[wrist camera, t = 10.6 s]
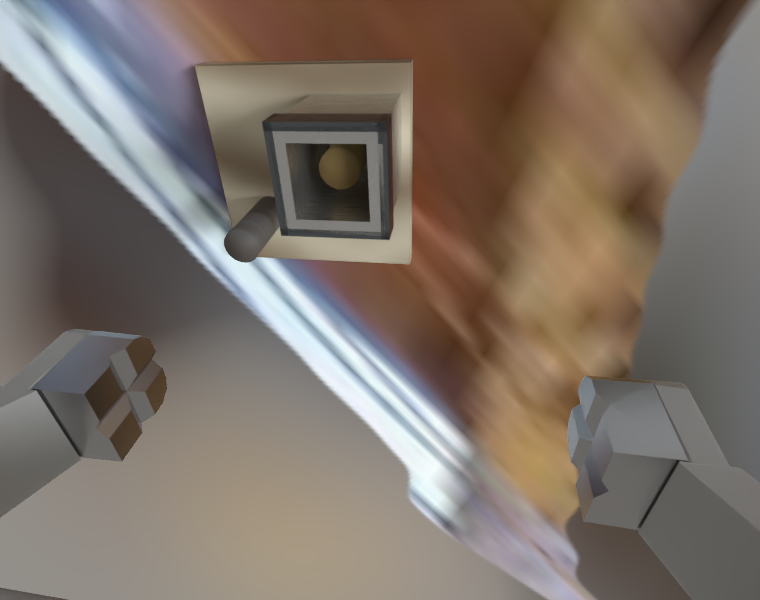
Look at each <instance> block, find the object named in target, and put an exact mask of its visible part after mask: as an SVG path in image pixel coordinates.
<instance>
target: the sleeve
mask: <svg viewBox="0 0 760 600" xmlns="http://www.w3.org/2000/svg"><path fill="white" fill-rule="evenodd" d="M262 125H263V131H264V137H265V143H266V149H267V155H268V161H269V167H270V173H271V178H272V184H273V190H274V196H275V202H276V208H277V214H278V220H279V226H280V232H281V236H300V237H325V238H350V239H375V240H390V237H391V234H392V230H393V227H394V217H393V210H394V207H395V204H396V201H397V198H398V195H399V191H400V188H401V185H402V117H401V94H311V95H309V96H308V97H307V98H305V99H304V100H303V101H301V102H300V103H299V104H297V105H296V106H294V107H293V108H292V109H290V110H289V111H288V112H286V113H274V114H272V115H271V116H269V117H268V118H266V119H265V120H264V121H262ZM328 144H366V146H367V166H368V171H362V172H361V174H360V176H359V177H358V179H357V181H356V182H355V184H354V185H352V186H351V187H349V188H347V189H335V188H333V187H331V186H329V185H328V184H327V183H326V182H325V181H324V180H323V179H322V177H321V175H320V171H319V163H320V160H321V158H322V156H323V155H324V154H325V152H326V151H327V150H328V149H329V145H328Z"/></svg>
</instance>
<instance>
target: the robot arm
mask: <svg viewBox="0 0 760 600" xmlns="http://www.w3.org/2000/svg"><path fill="white" fill-rule="evenodd" d="M155 353H156V351H155V349H154V347H153V344H152V342H151V340H150V339H148V338H146V337H143V336H136V335H128V334H119V333H110V332H102V331H88V330H80V329H73V330H70V331H66V332H64V333H63V334H62V335H61V336H59V337H58V338H57V339H56V340H55V341H54V342H53V343H52V344H50V345H49V346H48V347H47V348H46V349H45V350H44V351H43V352H42V353H40V354H39V355H38V356H37V357H36V358H35V359H34V360H33V361H31V362H30V363H29V364H28V365H27V366H26V367H25V368H24V369H22V370H21V371H20V372H19V373H18V374H17V375H16V376H15V377H14V378H12V379H11V380H10V381H9V382H8V383H7V384H6V385H5V386H4V387H1V386H0V517H2V516H3V515H5V514H6V513H7V512H9V511H10V510H11V509H13V508H14V507H16V506H17V505H18V504H20V503H21V502H23V501H24V500H25V499H27V498H28V497H30V496H31V495H32V494H34V493H35V492H36V491H38V490H39V489H41V488H42V487H43V486H45V485H46V484H47V483H49V482H50V481H52V480H53V479H55V478H56V477H57V476H59V475H60V474H62V473H63V472H64V471H66V470H67V469H68V468H70V467H71V466H73V465H74V464H75V463H77V462H78V461H79V460H80V457H83V458H93V459H103V460H113V461H123V459H124V458H125V456H126V455H127V454H128V452H129V451H130V449H131V448H132V447H133V445H134V444H135V442H136V441H137V439H138V438H139V437H140V435H141V434H142V424H141V423H142V422H143V421H145V420H147V419H148V418H150V417H151V416H153V415H155V414H156V412H157V411H158V409H159V408H160V406H161V405H162V403H163V400H164V397H165V393H166V390H167V384H166V376H165V373H164V371H163V368H162V367H160V366H159V365H158V364H157V363H156V362H155V361H153V360H152V359H153V357H154V355H155ZM578 393H579V397H580V401H581V404H579V405H578V406H576V407H575V408H573V409H572V412H571V416H570V419H569V424H568V449H569V454H570V459H571V462H572V463H573V464H574V465H575V467H576V468H577V469H578V470H579V471H580V475H579V477H578V480H577V483H576V488H577V493H578V497H579V502H580V506H581V511H582V515H583V520H584V521H585V522H591V523H598V524H604V525H611V526H617V527H623V528H629V529H636V530H639V532H638V533H639V534H640V535H641V537H642V538H643V539H644V540H645V542H646V543H647V544H648V545H649V547H650V548H651V549H652V550H653V551H654V553H655V554H656V555H657V557H658V558H659V559H660V560H661V562H662V563H663V564H664V565H665V567H666V568H667V569H668V570H669V572H670V573H671V574H672V575H673V577H674V578H675V579H676V580H677V582H678V583H679V584H680V585H681V587H682V588H683V589H684V590H685V592H686V593H687V594H688V595H689V597H690V598H691V599H692V600H760V483H759V482H758V481H757V480H755V479H754V478H753V477H751V476H750V475H749V474H748V473H746V472H745V471H743V470H742V469H741V468H735V467H730V466H729V464H728V462H727V461H726V459H725V457H724V455H723V453H722V451H721V449H720V448H719V446H718V444H717V442H716V440H715V438H714V436H713V434H712V433H711V431H710V429H709V427H708V425H707V423H706V421H705V420H704V418H703V416H702V414H701V412H700V410H699V408H698V407H697V405H696V403H695V401H694V399H693V397H692V396H691V394H690V392H689V390H688V388H687V387H686V386H685V385H683V384H682V383H676V382H663V381H650V380H649V381H645V380H634V379H621V378H609V377H597V376H585V377H584V379H583V380H582V382H581V384H580V387H579V390H578ZM0 600H67V599H61V598H55V597H50V596H44V595H39V594H33V593H27V592H22V591H16V590H10V589H5V588H0Z"/></svg>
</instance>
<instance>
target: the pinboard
mask: <svg viewBox="0 0 760 600" xmlns="http://www.w3.org/2000/svg"><path fill="white" fill-rule="evenodd" d="M195 69H196V73H197V77H198V82H199V86H200V90H201V94H202V99H203V103H204V107H205V112H206V116H207V120H208V125H209V129H210V133H211V138H212V142H213V146H214V150H215V155H216V159H217V163H218V168H219V172H220V176H221V181H222V185H223V189H224V193H225V198H226V202H227V206H228V211H229V215H230V219H231V224H232V228H233V229H232V230H231V231H230V232H229V233H228V234H227V235H226V237H225V239H224V246H225V249H226V251H227V252H228V254H229V255H230V256H231V257H232V258H234V259H235V260H237V261H240V262H251V261H253V260H254V259H256V257H267V258H289V259H310V260H332V261H353V262H374V263H396V264H410V261H411V256H412V115H413V59H405V60H345V61H285V62H225V63H203V64H199V65H196V66H195ZM311 94H401V117H402V185H401V188H400V191H399V195H398V198H397V201H396V204H395V207H394V210H393V217H394V227H393V230H392V234H391V237H390V240H375V239H350V238H325V237H300V236H281V232H280V226H279V220H278V214H277V208H276V202H275V196H274V190H273V184H272V178H271V173H270V167H269V161H268V155H267V149H266V143H265V137H264V131H263V125H262V121H264V120H265V119H266V118H268V117H269V116H271V115H272V114H274V113H286V112H288V111H289V110H290V109H292V108H293V107H294V106H296V105H297V104H299V103H300V102H301V101H303V100H304V99H305V98H307V97H308V96H309V95H311ZM328 145H329V149H328V150H327V151H326V152H325V154H324V155H323V156H322V158H321V160H320V163H319V171H320V175H321V177H322V179H323V180H324V181H325V182H326V183H327V184H328V185H329V186H331V187H333V188H335V189H347V188H349V187H351V186H352V185H354V184H355V182H356V181H357V179H358V177H359V176H360V174H361V172H362V171H368V166H367V146H366V144H328Z"/></svg>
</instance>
